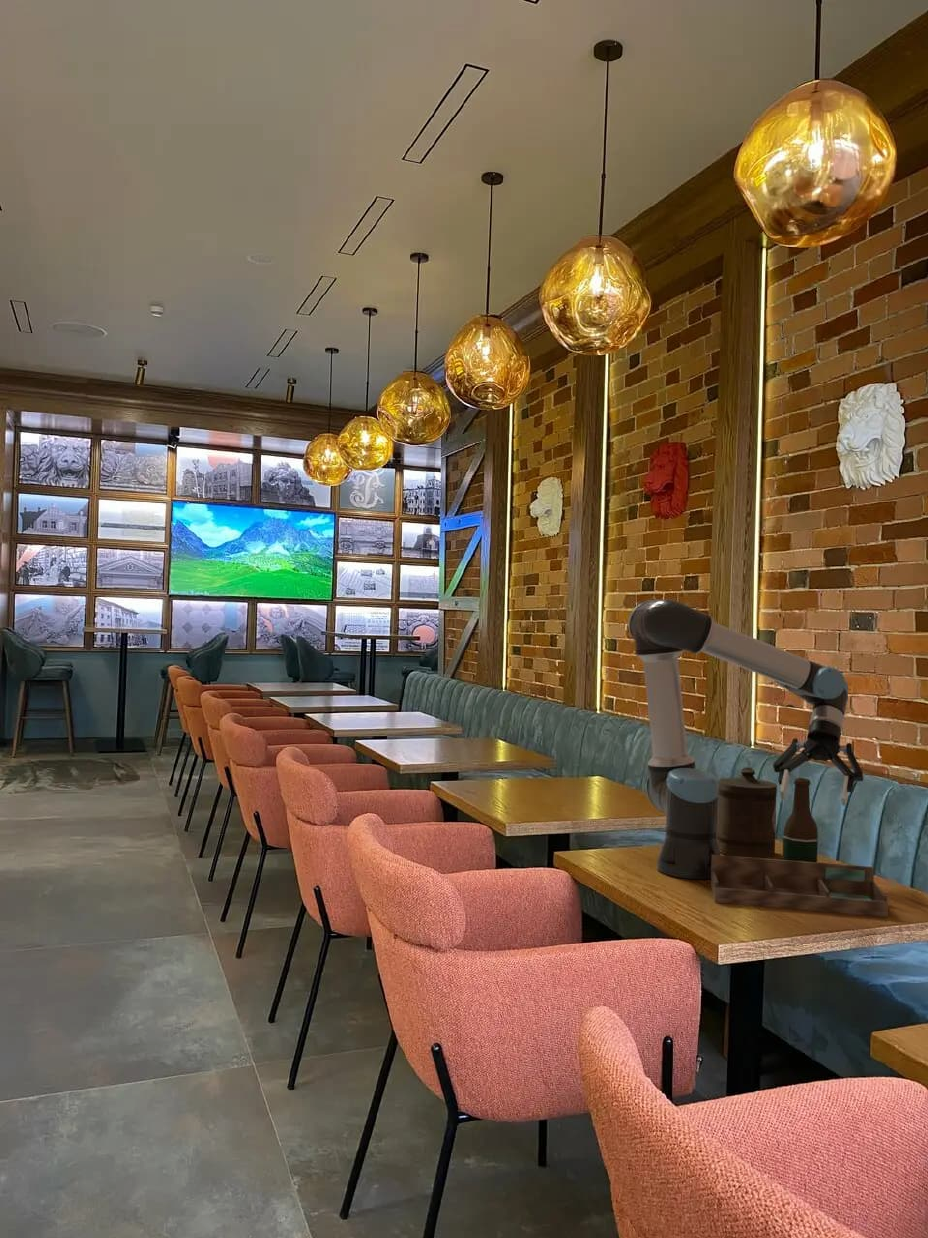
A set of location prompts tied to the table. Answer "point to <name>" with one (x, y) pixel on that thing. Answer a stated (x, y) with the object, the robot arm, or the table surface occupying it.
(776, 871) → the condiment rack
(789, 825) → the beer bottle
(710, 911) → the table surface
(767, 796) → the wooden container
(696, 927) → the table surface
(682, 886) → the table surface
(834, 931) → the table surface
